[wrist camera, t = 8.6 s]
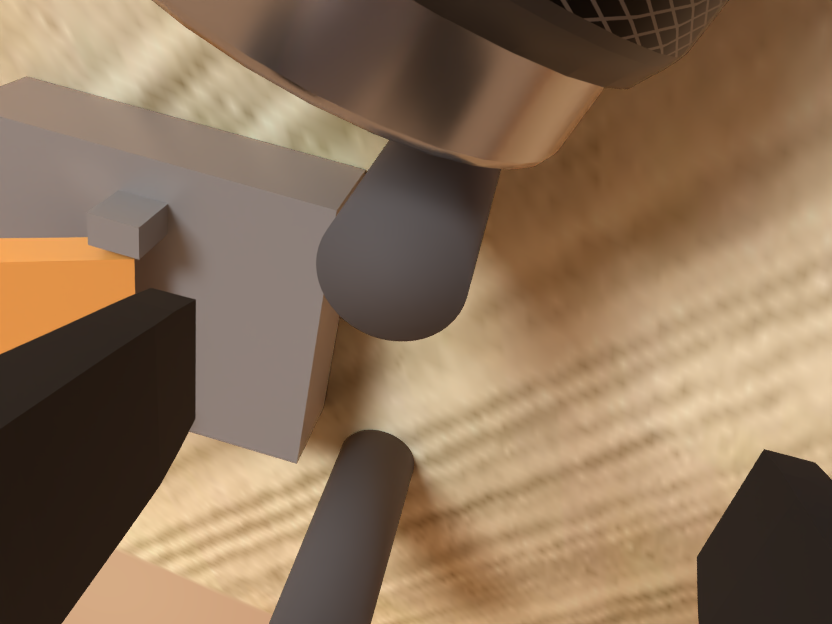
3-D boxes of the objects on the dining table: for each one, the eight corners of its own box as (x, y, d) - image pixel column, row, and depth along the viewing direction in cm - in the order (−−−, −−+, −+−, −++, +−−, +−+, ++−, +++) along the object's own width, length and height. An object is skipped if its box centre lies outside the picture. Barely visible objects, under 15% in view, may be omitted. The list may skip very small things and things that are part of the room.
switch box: (365, 169, 18) (318, 236, 14) (323, 407, 22) (280, 497, 19) (26, 76, 18) (-91, 121, 15) (52, 327, 23) (-35, 402, 19)
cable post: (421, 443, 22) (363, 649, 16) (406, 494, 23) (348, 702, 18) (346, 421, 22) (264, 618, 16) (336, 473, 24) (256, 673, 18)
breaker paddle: (134, 259, 16) (-100, 264, 14) (136, 385, 18) (-67, 403, 16) (131, 236, 17) (-92, 239, 15) (133, 360, 19) (-62, 375, 17)
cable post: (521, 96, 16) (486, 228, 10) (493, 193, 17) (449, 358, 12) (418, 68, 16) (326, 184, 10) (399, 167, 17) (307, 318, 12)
